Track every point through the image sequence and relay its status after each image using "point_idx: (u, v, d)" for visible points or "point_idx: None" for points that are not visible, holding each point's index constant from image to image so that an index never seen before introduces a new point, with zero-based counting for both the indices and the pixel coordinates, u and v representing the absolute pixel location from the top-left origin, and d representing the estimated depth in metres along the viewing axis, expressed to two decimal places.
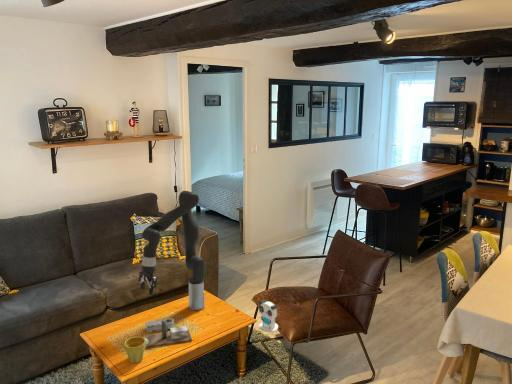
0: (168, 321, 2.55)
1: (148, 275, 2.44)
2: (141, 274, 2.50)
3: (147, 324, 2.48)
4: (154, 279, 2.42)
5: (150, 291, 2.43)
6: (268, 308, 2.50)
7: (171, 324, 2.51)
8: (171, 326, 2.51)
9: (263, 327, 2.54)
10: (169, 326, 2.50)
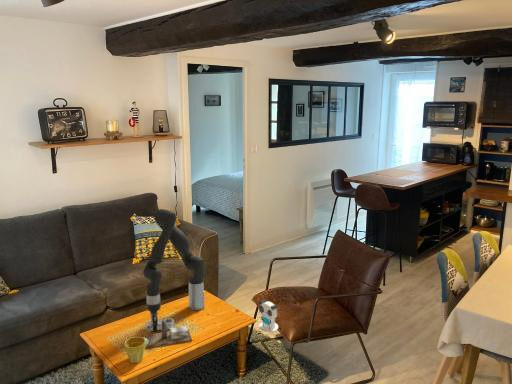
0: (168, 321, 2.55)
1: (152, 312, 2.46)
2: None
3: (147, 324, 2.48)
4: (154, 319, 2.43)
5: (153, 328, 2.47)
6: (268, 308, 2.50)
7: (171, 324, 2.51)
8: (171, 326, 2.51)
9: (263, 327, 2.54)
10: (169, 326, 2.50)
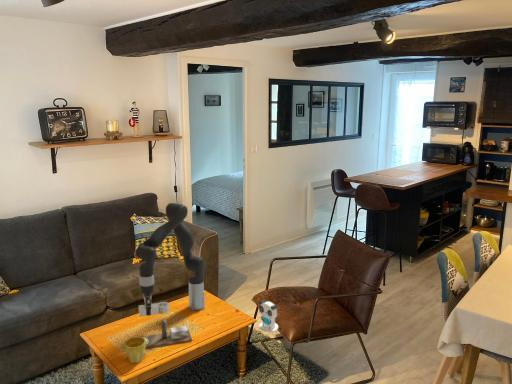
0: (163, 305, 2.38)
1: (145, 295, 2.29)
2: None
3: (140, 307, 2.31)
4: (148, 302, 2.26)
5: (147, 312, 2.30)
6: (268, 308, 2.50)
7: (166, 308, 2.34)
8: (166, 310, 2.34)
9: (263, 327, 2.54)
10: (164, 310, 2.33)
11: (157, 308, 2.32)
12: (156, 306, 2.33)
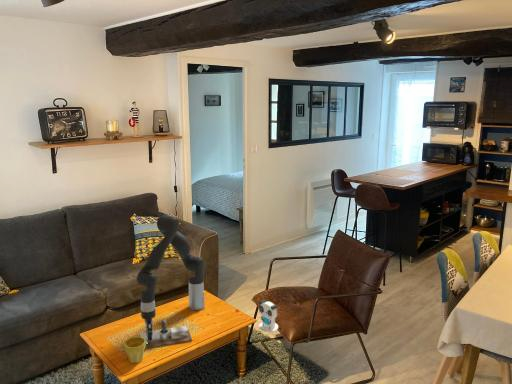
0: None
1: (146, 320, 2.32)
2: None
3: (141, 335, 2.35)
4: (149, 326, 2.28)
5: (148, 337, 2.32)
6: (268, 308, 2.50)
7: (167, 335, 2.37)
8: (167, 337, 2.37)
9: (263, 327, 2.54)
10: (165, 337, 2.37)
11: (158, 335, 2.36)
12: (157, 333, 2.37)
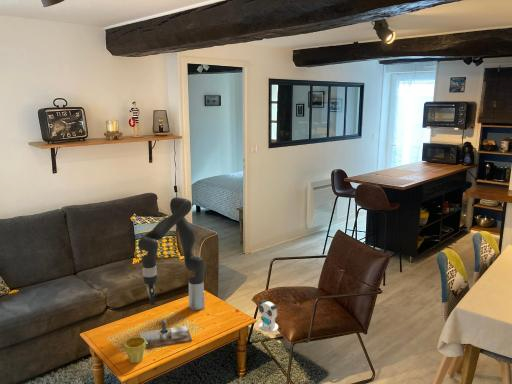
0: None
1: (148, 285, 2.34)
2: None
3: (141, 335, 2.35)
4: (151, 290, 2.31)
5: (151, 302, 2.34)
6: (268, 308, 2.50)
7: (167, 335, 2.37)
8: (167, 337, 2.37)
9: (263, 327, 2.54)
10: (165, 337, 2.37)
11: (158, 335, 2.36)
12: (157, 333, 2.37)
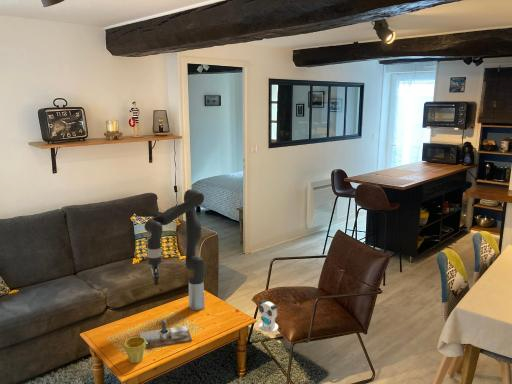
0: None
1: (153, 266, 2.47)
2: None
3: (141, 335, 2.35)
4: (155, 271, 2.43)
5: (154, 282, 2.46)
6: (268, 308, 2.50)
7: (167, 335, 2.37)
8: (167, 337, 2.37)
9: (263, 327, 2.54)
10: (165, 337, 2.37)
11: (158, 335, 2.36)
12: (157, 333, 2.37)
